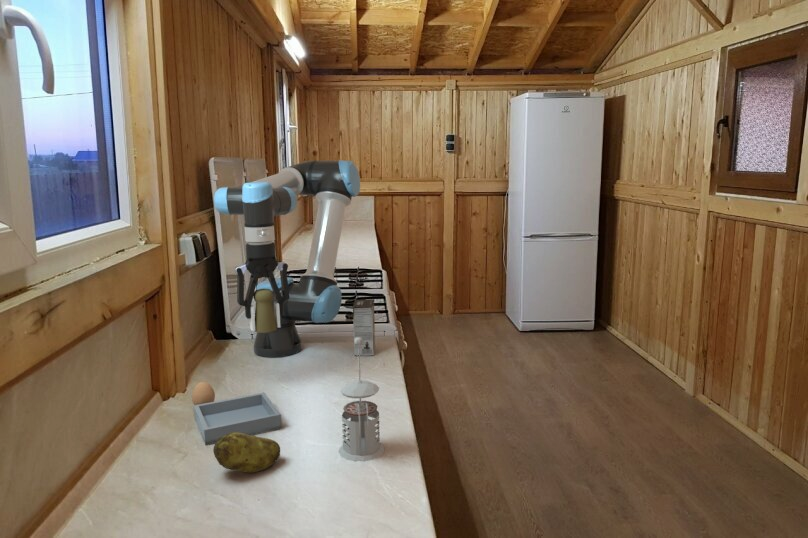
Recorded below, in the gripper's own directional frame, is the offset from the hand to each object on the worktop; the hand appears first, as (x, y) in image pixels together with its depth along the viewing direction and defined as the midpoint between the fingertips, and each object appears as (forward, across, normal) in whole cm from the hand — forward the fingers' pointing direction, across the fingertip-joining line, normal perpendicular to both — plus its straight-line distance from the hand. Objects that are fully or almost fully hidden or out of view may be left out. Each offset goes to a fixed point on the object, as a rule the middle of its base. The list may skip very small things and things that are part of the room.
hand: (265, 327), depth 164 cm
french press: (+17, +8, -46) cm, 50 cm away
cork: (+1, 0, 0) cm, 1 cm away
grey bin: (+16, -13, -20) cm, 29 cm away
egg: (+17, -18, -7) cm, 26 cm away
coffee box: (+17, +35, +15) cm, 42 cm away
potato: (+17, -15, -42) cm, 48 cm away
